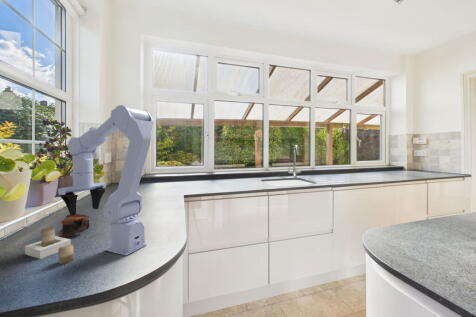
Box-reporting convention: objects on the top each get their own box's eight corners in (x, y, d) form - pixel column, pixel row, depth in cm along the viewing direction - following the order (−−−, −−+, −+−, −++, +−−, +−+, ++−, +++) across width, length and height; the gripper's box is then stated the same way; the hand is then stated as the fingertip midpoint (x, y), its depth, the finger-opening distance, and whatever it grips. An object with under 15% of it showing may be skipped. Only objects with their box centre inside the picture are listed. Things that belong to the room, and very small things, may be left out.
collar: (71, 247, 68) (70, 239, 68) (40, 259, 61) (39, 250, 61) (56, 243, 71) (56, 236, 71) (25, 254, 64) (24, 246, 64)
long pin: (58, 249, 67) (57, 227, 67) (45, 253, 64) (45, 230, 64) (51, 247, 68) (50, 226, 68) (39, 252, 65) (38, 229, 65)
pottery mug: (50, 238, 77) (58, 215, 81) (77, 240, 85) (82, 219, 89) (72, 233, 73) (79, 209, 77) (98, 236, 81) (103, 214, 85)
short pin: (76, 259, 60) (75, 245, 60) (63, 265, 57) (62, 250, 57) (69, 257, 61) (68, 243, 61) (56, 262, 58) (55, 248, 58)
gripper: (96, 170, 82) (97, 205, 82) (51, 174, 68) (53, 216, 69) (109, 171, 79) (110, 207, 80) (65, 175, 66) (67, 218, 66)
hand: (84, 211), depth 74 cm, fingers open, 7 cm apart
